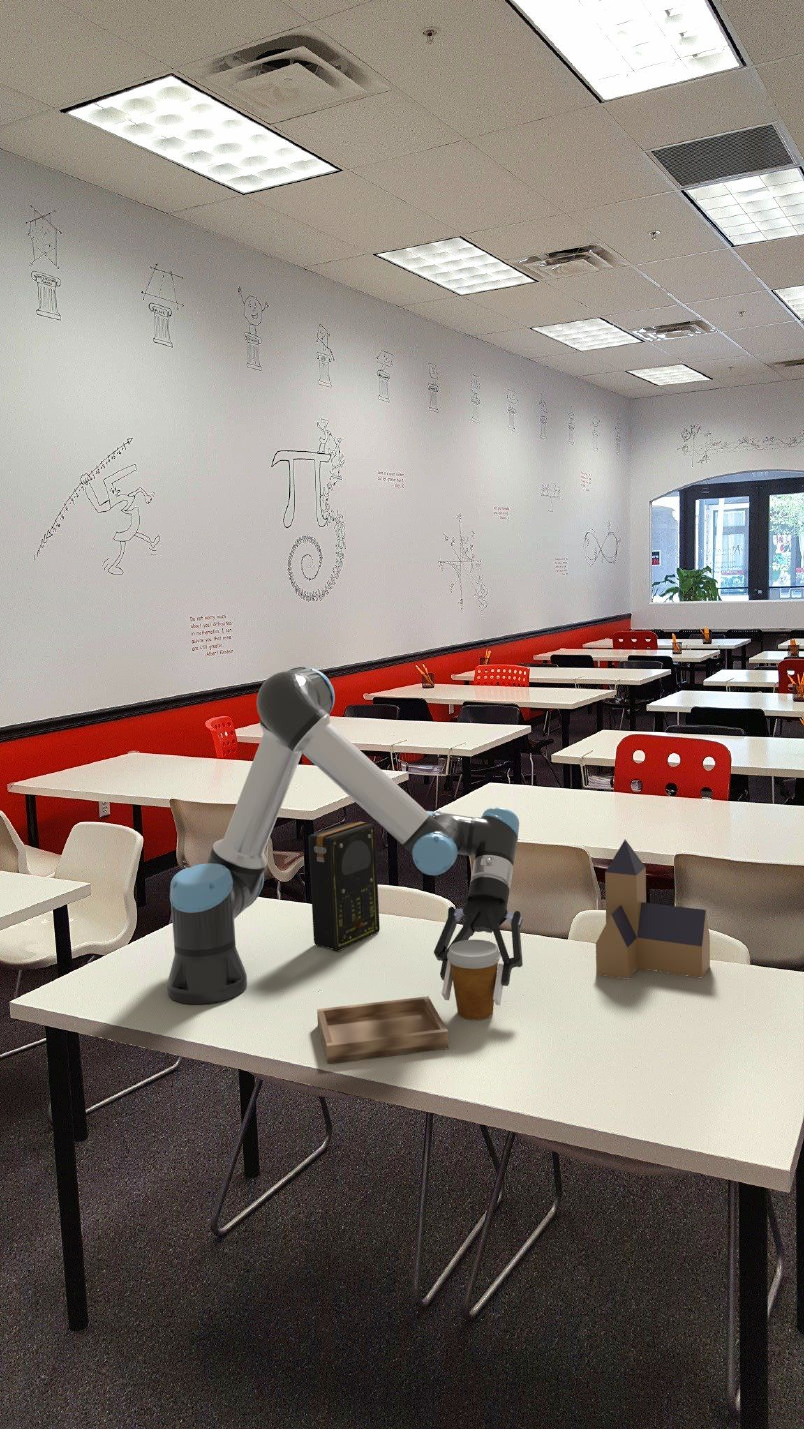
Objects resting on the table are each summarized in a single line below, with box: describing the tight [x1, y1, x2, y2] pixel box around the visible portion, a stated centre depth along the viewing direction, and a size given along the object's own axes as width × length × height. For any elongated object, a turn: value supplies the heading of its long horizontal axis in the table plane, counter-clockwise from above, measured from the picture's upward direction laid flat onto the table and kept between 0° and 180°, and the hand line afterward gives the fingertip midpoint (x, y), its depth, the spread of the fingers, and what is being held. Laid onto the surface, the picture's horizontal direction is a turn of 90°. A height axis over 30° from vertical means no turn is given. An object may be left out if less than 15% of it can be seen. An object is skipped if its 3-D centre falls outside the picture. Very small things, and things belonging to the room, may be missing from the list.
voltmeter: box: [308, 821, 381, 953], centre depth 218 cm, size 16×9×25 cm, turn 143°
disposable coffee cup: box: [447, 939, 502, 1021], centre depth 178 cm, size 10×10×12 cm
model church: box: [595, 838, 711, 980], centre depth 194 cm, size 12×19×25 cm, turn 60°
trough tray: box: [316, 995, 450, 1065], centre depth 170 cm, size 20×15×3 cm
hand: (470, 999), depth 175 cm, fingers closed on disposable coffee cup, 9 cm apart
